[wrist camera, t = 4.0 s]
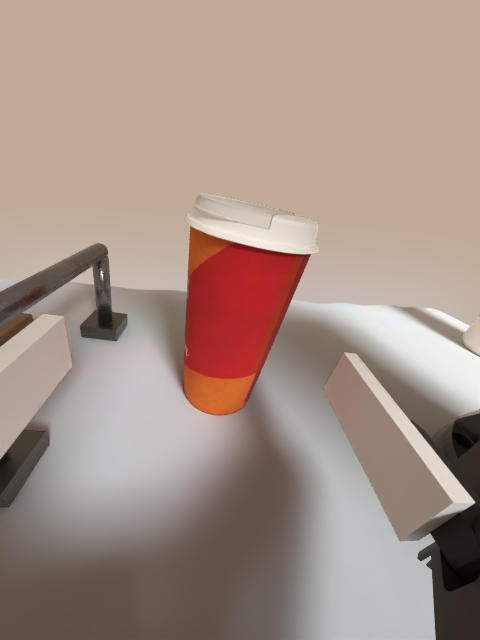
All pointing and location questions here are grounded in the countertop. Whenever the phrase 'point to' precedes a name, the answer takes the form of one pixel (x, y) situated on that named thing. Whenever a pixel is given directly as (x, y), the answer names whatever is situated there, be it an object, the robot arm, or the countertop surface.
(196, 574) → the countertop surface
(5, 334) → the walnut board
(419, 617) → the countertop surface
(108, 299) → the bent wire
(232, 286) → the paper cup
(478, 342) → the alcohol
